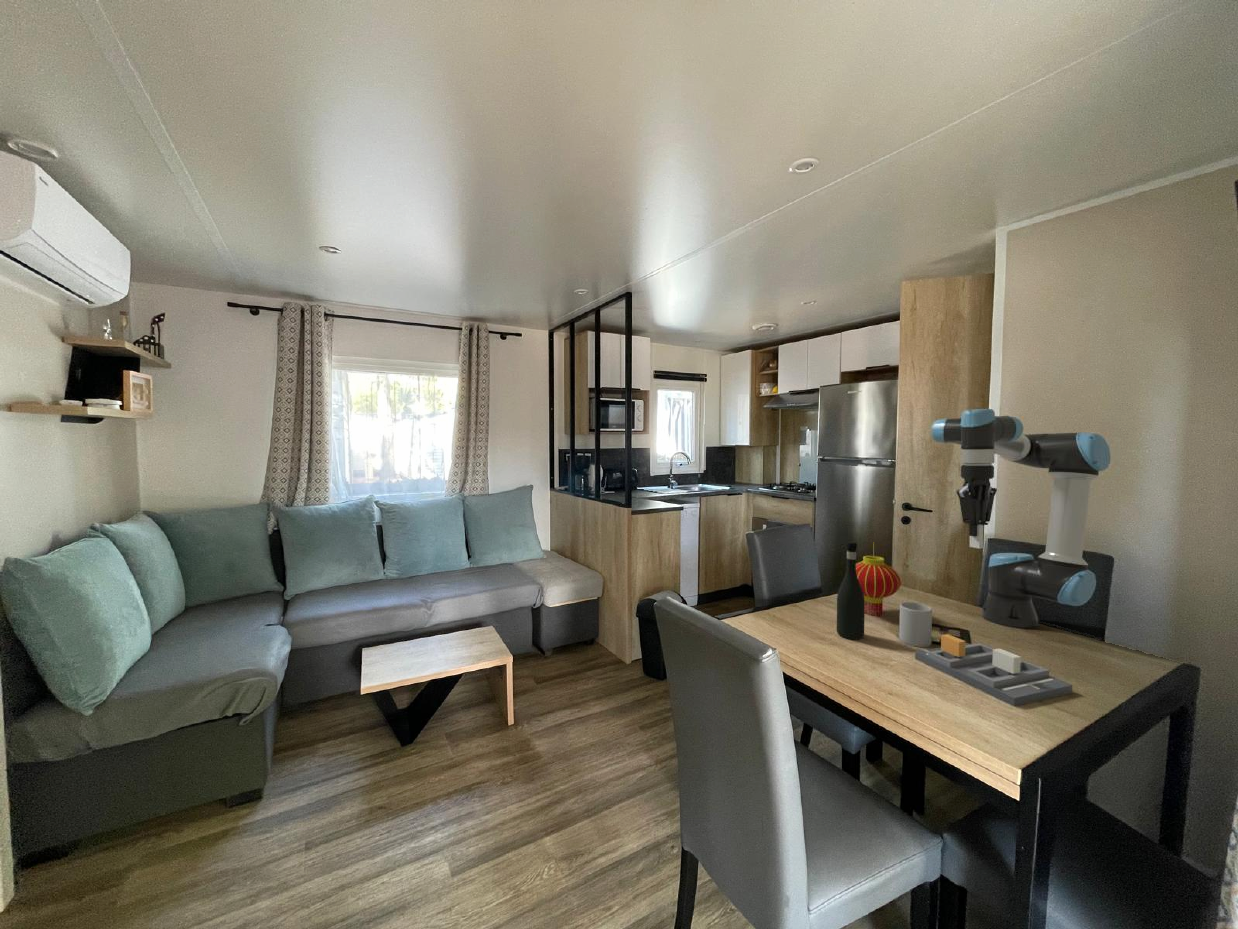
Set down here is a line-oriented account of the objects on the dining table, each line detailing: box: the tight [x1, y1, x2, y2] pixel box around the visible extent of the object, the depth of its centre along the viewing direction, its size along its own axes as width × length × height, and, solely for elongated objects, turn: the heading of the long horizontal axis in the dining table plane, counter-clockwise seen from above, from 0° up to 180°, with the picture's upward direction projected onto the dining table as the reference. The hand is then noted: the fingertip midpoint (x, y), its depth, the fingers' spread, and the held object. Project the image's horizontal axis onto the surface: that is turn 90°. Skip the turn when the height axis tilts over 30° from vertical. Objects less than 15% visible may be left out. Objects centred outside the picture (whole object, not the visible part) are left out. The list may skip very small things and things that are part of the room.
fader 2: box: [992, 648, 1022, 677], centre depth 121 cm, size 3×5×6 cm, turn 17°
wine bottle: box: [836, 541, 865, 640], centre depth 152 cm, size 8×8×30 cm
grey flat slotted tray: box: [914, 642, 1073, 707], centre depth 126 cm, size 20×26×4 cm
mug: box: [898, 601, 933, 648], centre depth 149 cm, size 12×8×11 cm
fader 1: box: [940, 633, 967, 659], centre depth 130 cm, size 3×5×6 cm, turn 17°
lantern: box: [856, 543, 902, 617], centre depth 172 cm, size 17×17×30 cm
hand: (976, 547), depth 135 cm, fingers closed
